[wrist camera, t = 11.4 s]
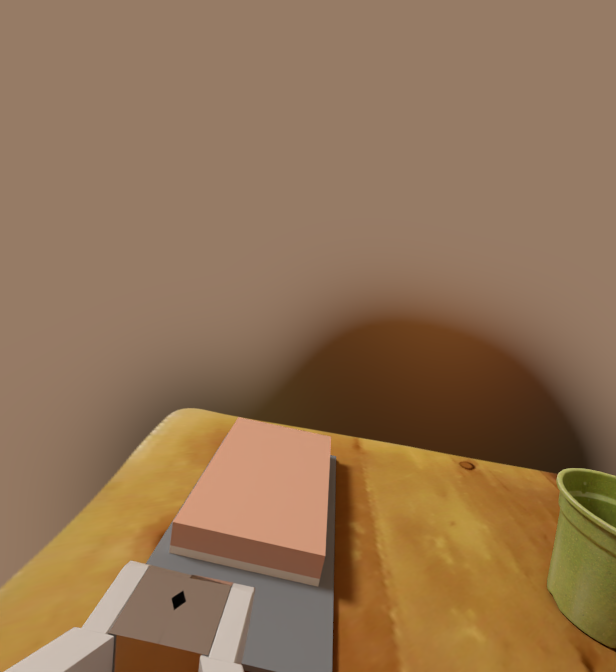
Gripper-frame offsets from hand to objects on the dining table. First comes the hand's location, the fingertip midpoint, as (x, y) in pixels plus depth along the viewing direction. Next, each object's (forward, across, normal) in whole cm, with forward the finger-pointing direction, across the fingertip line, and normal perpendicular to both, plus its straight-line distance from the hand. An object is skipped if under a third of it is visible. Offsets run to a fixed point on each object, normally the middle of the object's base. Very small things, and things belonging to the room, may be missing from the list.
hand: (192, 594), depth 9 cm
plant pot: (+17, -24, +14) cm, 33 cm away
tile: (+13, +1, +12) cm, 18 cm away
